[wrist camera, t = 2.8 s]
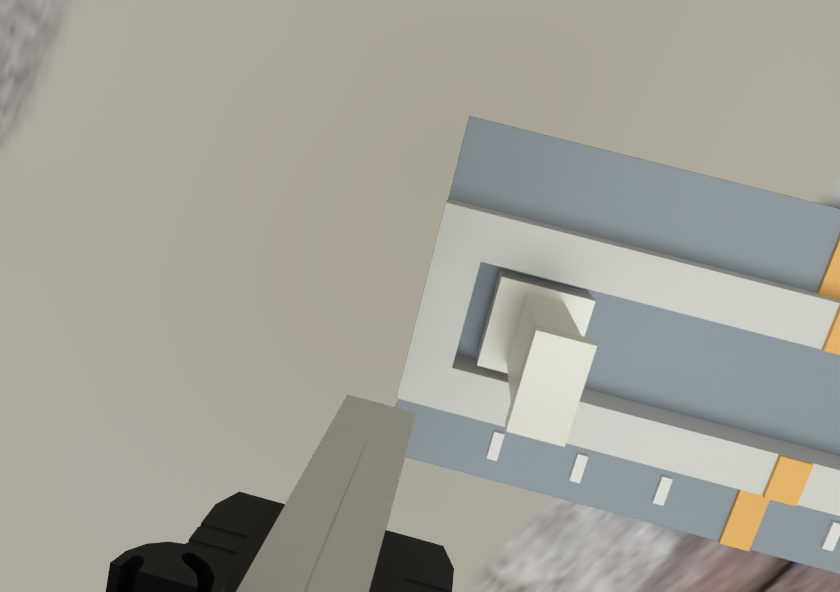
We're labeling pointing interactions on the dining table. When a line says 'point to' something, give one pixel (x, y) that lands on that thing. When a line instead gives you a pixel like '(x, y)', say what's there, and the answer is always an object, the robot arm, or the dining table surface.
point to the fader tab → (539, 352)
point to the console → (644, 342)
